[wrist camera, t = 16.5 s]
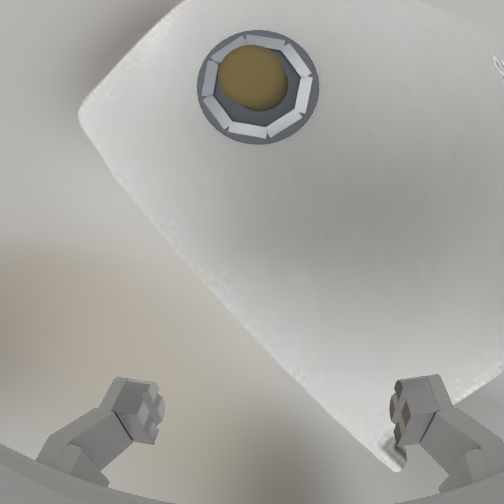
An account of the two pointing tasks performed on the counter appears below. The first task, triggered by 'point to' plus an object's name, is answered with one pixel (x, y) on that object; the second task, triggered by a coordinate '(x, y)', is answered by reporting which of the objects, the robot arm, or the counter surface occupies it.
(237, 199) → the counter surface
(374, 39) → the counter surface
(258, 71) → the olive brown pepper mill
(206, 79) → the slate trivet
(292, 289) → the counter surface
